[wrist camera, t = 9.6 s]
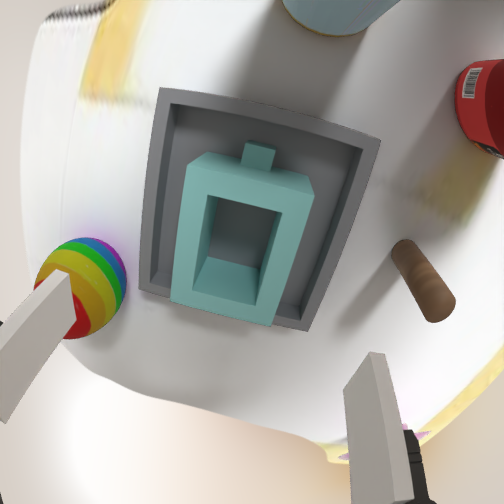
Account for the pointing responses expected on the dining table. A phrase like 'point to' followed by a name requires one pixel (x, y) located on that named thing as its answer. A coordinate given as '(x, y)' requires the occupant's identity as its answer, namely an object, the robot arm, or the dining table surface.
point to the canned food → (482, 105)
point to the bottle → (337, 14)
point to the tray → (244, 215)
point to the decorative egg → (88, 282)
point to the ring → (201, 224)
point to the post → (423, 281)
